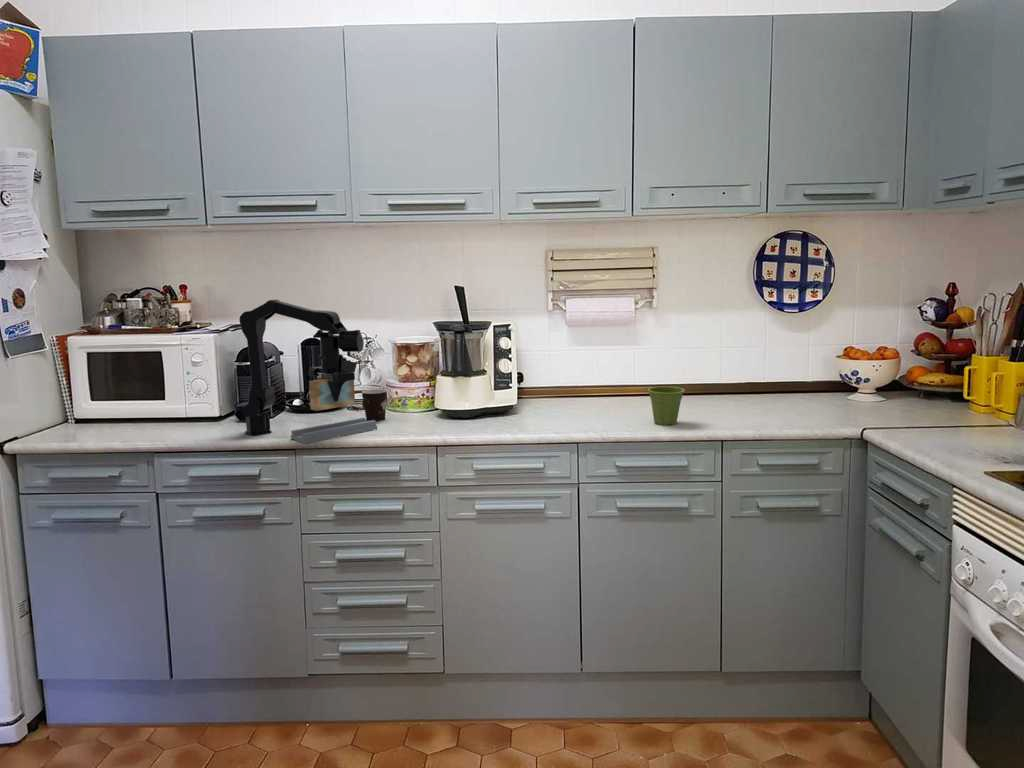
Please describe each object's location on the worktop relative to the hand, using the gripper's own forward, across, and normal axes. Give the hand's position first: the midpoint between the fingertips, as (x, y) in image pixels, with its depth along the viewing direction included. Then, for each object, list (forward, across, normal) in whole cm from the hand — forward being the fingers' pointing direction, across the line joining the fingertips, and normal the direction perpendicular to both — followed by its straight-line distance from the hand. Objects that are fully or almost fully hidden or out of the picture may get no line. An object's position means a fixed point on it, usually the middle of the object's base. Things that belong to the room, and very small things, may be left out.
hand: (332, 400), depth 246 cm
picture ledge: (+11, 0, 0) cm, 11 cm away
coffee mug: (+11, +9, -20) cm, 25 cm away
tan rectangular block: (+2, 0, 0) cm, 2 cm away
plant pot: (+11, -70, -81) cm, 108 cm away
